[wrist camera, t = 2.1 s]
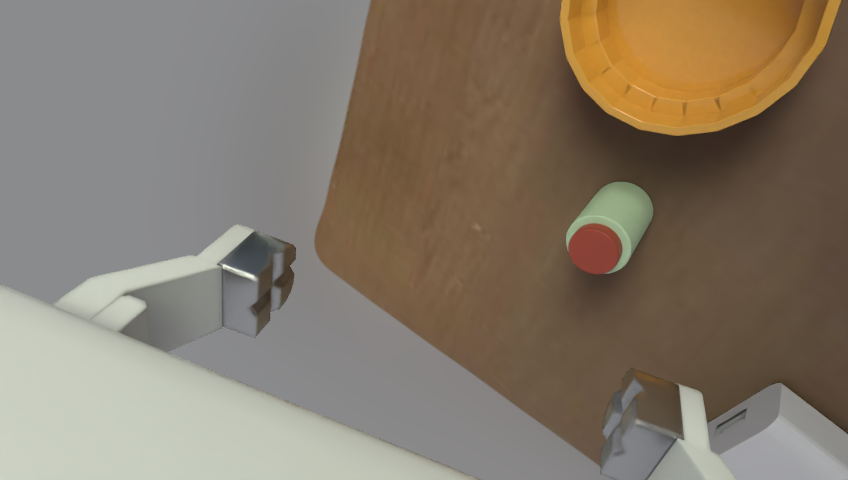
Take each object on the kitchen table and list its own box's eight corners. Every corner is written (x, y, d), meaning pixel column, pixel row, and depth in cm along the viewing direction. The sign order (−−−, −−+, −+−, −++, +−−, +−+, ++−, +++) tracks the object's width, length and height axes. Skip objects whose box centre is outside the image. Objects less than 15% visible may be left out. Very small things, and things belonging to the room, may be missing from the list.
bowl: (654, -172, 30) (630, -183, 27) (908, -84, 27) (920, -82, 23) (555, 56, 38) (526, 72, 35) (740, 147, 35) (729, 176, 31)
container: (610, 170, 40) (577, 209, 35) (665, 200, 39) (639, 245, 34) (584, 215, 43) (549, 258, 37) (635, 245, 41) (607, 293, 36)
